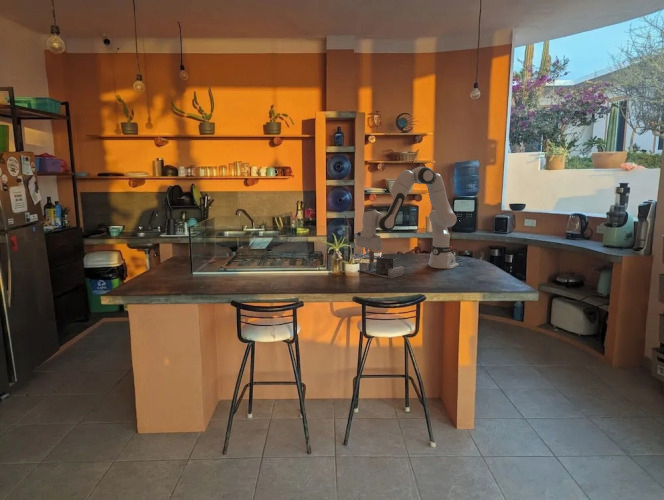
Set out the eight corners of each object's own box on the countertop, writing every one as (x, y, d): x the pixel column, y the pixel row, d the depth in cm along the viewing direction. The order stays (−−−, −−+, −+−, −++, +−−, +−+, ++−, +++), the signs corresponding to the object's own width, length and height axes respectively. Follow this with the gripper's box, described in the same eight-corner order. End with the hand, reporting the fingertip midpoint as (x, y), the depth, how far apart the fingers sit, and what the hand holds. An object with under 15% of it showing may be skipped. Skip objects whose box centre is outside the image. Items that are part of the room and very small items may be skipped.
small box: (392, 273, 286) (393, 257, 284) (393, 275, 280) (393, 259, 278) (376, 272, 287) (376, 256, 285) (376, 274, 281) (376, 258, 279)
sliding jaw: (376, 268, 296) (376, 250, 294) (380, 269, 293) (381, 251, 291) (363, 271, 288) (364, 252, 286) (368, 272, 285) (369, 253, 283)
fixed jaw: (374, 267, 300) (374, 259, 299) (404, 274, 282) (405, 266, 281) (357, 271, 289) (357, 262, 288) (388, 279, 271) (388, 270, 270)
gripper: (384, 235, 284) (383, 256, 286) (361, 231, 298) (360, 251, 301) (377, 236, 279) (377, 258, 282) (354, 232, 294) (354, 253, 297)
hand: (368, 254), depth 292 cm, fingers closed
